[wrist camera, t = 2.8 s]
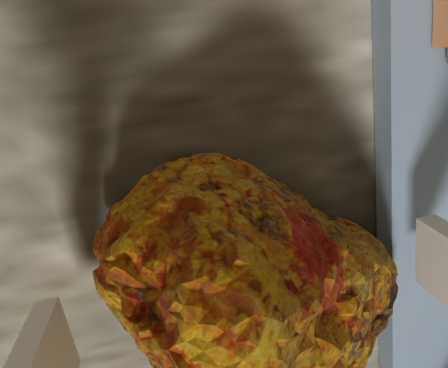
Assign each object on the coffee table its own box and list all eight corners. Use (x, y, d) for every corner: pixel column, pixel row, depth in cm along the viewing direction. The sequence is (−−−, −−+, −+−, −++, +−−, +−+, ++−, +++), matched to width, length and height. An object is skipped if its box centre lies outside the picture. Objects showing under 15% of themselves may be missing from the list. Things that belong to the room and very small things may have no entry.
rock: (287, 145, 20) (463, 297, 16) (198, 260, 23) (327, 418, 18) (117, 93, 10) (444, 441, 6) (0, 301, 13) (169, 647, 9)
